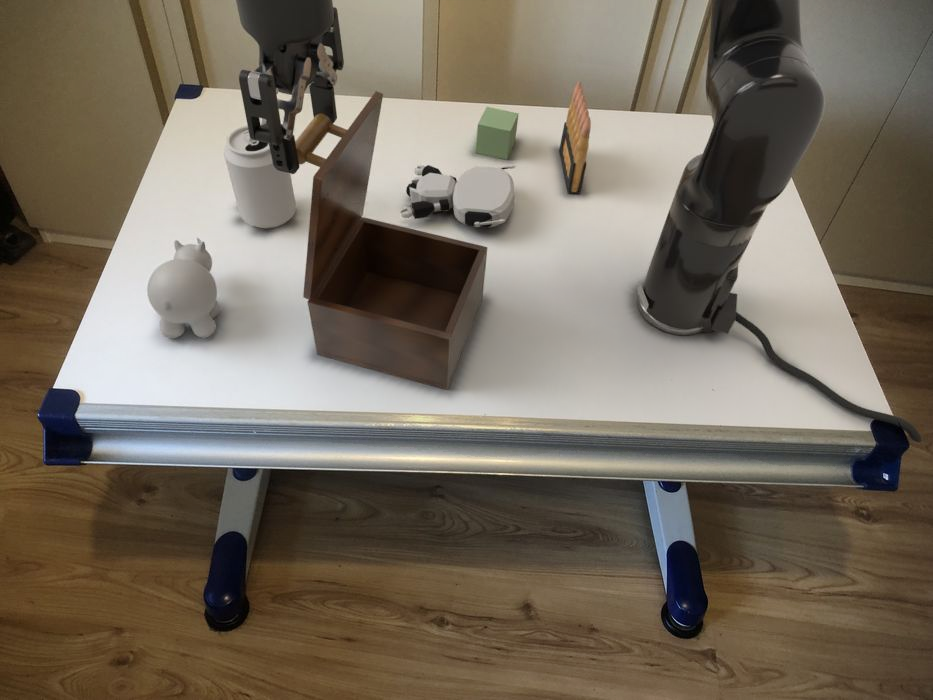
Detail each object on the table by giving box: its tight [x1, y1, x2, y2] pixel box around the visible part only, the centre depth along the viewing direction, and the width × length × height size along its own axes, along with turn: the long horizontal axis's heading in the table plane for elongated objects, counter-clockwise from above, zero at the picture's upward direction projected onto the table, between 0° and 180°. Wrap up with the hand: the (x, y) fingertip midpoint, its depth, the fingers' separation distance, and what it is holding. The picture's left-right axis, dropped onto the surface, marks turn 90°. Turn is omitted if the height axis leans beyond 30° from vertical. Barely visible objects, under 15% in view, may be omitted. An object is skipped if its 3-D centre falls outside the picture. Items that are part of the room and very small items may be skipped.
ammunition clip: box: [558, 80, 592, 194], centre depth 98 cm, size 11×2×12 cm, turn 2°
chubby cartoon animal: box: [146, 237, 221, 339], centre depth 79 cm, size 7×12×8 cm, turn 179°
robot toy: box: [399, 164, 517, 229], centre depth 94 cm, size 12×4×15 cm
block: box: [475, 106, 520, 161], centre depth 104 cm, size 5×5×5 cm
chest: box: [307, 216, 488, 390], centre depth 78 cm, size 16×15×9 cm
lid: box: [295, 90, 384, 301], centre depth 69 cm, size 16×15×5 cm
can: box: [223, 125, 297, 229], centre depth 89 cm, size 8×8×12 cm
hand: (307, 144), depth 65 cm, fingers open, 8 cm apart
